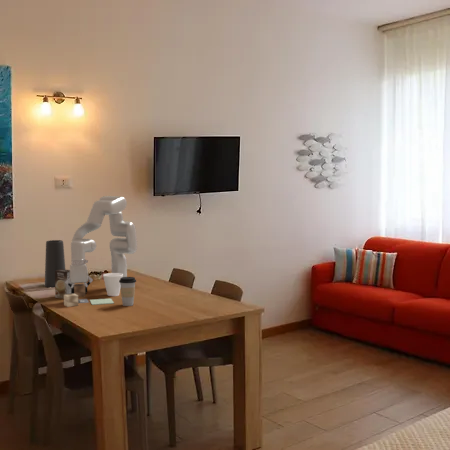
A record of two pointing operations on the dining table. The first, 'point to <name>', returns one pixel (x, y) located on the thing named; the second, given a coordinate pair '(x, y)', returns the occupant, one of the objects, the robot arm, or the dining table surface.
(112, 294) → the cup
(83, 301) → the tile
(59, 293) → the coffee box
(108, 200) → the robot arm
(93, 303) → the mat
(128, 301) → the coffee cup
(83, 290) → the walnut block
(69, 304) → the maple block
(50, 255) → the vase
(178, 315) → the dining table surface
